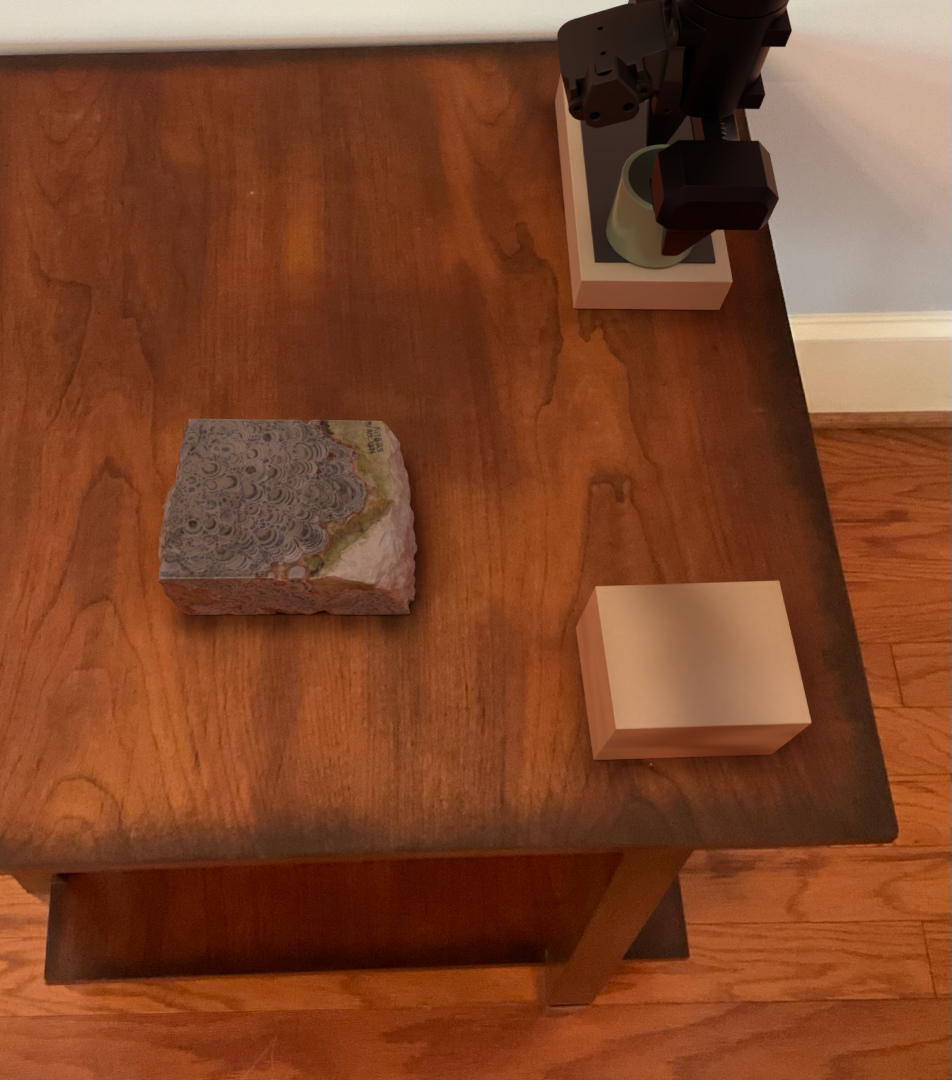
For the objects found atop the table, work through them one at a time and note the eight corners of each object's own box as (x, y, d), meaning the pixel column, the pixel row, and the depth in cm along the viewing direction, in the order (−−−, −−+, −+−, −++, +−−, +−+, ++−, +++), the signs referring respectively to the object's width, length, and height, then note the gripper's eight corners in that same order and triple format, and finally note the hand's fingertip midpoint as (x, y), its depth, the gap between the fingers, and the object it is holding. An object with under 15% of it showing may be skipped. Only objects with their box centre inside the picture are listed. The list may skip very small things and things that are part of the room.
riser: (744, 621, 64) (779, 580, 59) (772, 754, 60) (812, 723, 55) (575, 627, 64) (595, 585, 59) (593, 760, 61) (616, 729, 55)
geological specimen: (164, 417, 65) (415, 410, 64) (184, 470, 70) (415, 465, 69) (147, 576, 60) (418, 572, 59) (169, 621, 65) (419, 618, 64)
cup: (664, 189, 75) (684, 132, 71) (712, 249, 73) (736, 194, 68) (589, 217, 74) (604, 161, 70) (635, 279, 72) (654, 226, 67)
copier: (554, 101, 83) (562, 62, 80) (685, 102, 83) (698, 62, 80) (573, 309, 75) (582, 274, 71) (719, 310, 74) (736, 275, 71)
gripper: (569, -129, 61) (529, 96, 75) (595, 109, 53) (545, 312, 67) (769, -129, 61) (691, 97, 75) (827, 110, 52) (728, 314, 66)
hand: (661, 199), depth 71 cm, fingers open, 9 cm apart
